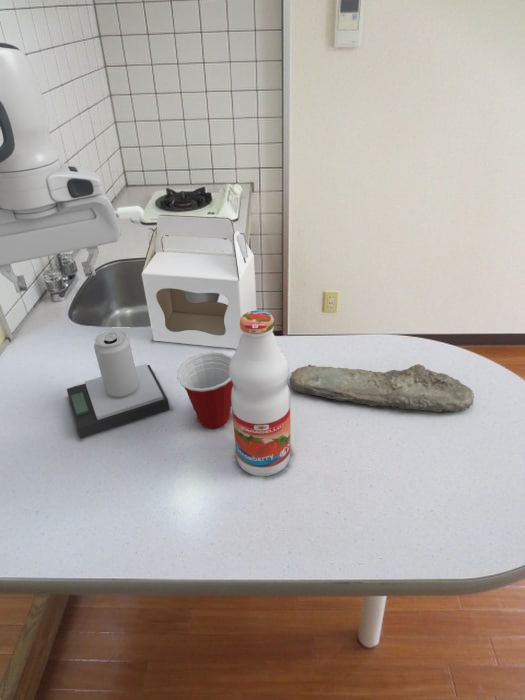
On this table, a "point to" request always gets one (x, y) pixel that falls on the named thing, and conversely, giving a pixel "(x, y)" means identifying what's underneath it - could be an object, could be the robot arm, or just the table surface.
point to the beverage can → (116, 363)
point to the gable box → (198, 283)
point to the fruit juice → (260, 397)
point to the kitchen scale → (115, 403)
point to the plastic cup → (208, 387)
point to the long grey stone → (385, 387)
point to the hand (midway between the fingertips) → (56, 282)
